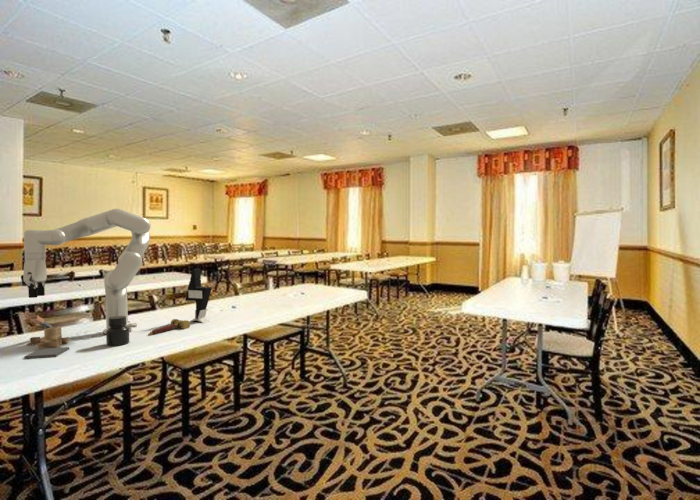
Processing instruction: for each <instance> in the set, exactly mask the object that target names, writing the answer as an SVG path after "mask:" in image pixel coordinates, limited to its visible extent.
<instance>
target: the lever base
mask: <svg viewBox="0 0 700 500" xmlns="http://www.w3.org/2000/svg"><path fill="white" fill-rule="evenodd" d="M39 343H45V336H42V337H41V336H33V337H29V342H28V343H26V344H25V345H26V347H27V346H38V344H39Z"/></svg>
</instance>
